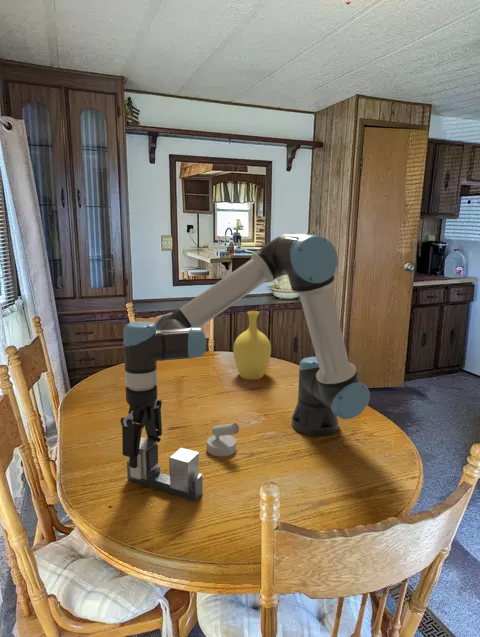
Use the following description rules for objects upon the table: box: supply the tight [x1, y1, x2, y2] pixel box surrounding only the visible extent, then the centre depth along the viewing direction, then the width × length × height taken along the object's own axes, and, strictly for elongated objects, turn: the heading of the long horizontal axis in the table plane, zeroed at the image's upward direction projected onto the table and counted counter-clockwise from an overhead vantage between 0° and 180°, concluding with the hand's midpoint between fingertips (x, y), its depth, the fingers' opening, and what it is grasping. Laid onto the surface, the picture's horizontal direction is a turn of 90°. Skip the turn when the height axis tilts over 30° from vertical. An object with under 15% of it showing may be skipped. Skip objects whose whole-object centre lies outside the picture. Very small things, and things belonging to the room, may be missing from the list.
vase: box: [232, 310, 272, 380], centre depth 186 cm, size 16×16×28 cm
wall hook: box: [206, 422, 240, 457], centre depth 127 cm, size 9×10×10 cm
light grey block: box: [130, 436, 159, 480], centre depth 111 cm, size 6×5×8 cm
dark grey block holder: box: [126, 447, 203, 503], centre depth 108 cm, size 20×5×10 cm, turn 65°
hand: (144, 470), depth 111 cm, fingers open, 6 cm apart
